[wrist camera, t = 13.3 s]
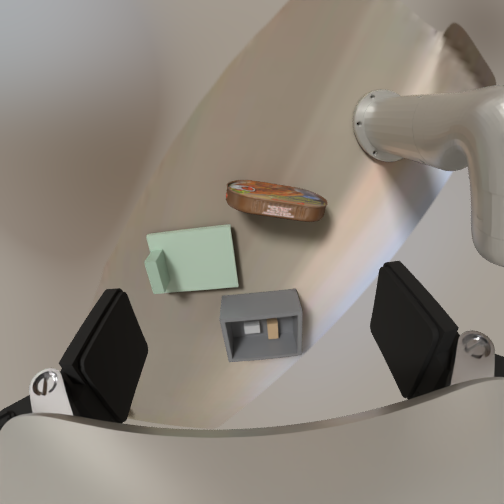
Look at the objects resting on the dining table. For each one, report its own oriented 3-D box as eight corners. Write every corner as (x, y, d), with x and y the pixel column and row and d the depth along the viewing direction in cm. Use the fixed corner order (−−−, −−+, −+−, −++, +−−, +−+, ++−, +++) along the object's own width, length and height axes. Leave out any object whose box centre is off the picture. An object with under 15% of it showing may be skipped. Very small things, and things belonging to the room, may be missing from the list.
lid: (230, 221, 47) (228, 236, 41) (238, 280, 52) (238, 301, 46) (149, 231, 47) (137, 247, 41) (164, 286, 52) (155, 306, 46)
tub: (295, 288, 52) (302, 311, 46) (296, 331, 57) (301, 355, 51) (221, 295, 53) (219, 319, 46) (230, 338, 57) (229, 362, 51)
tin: (320, 191, 45) (335, 206, 37) (315, 209, 46) (330, 227, 38) (228, 177, 43) (225, 188, 36) (226, 195, 45) (222, 211, 37)
